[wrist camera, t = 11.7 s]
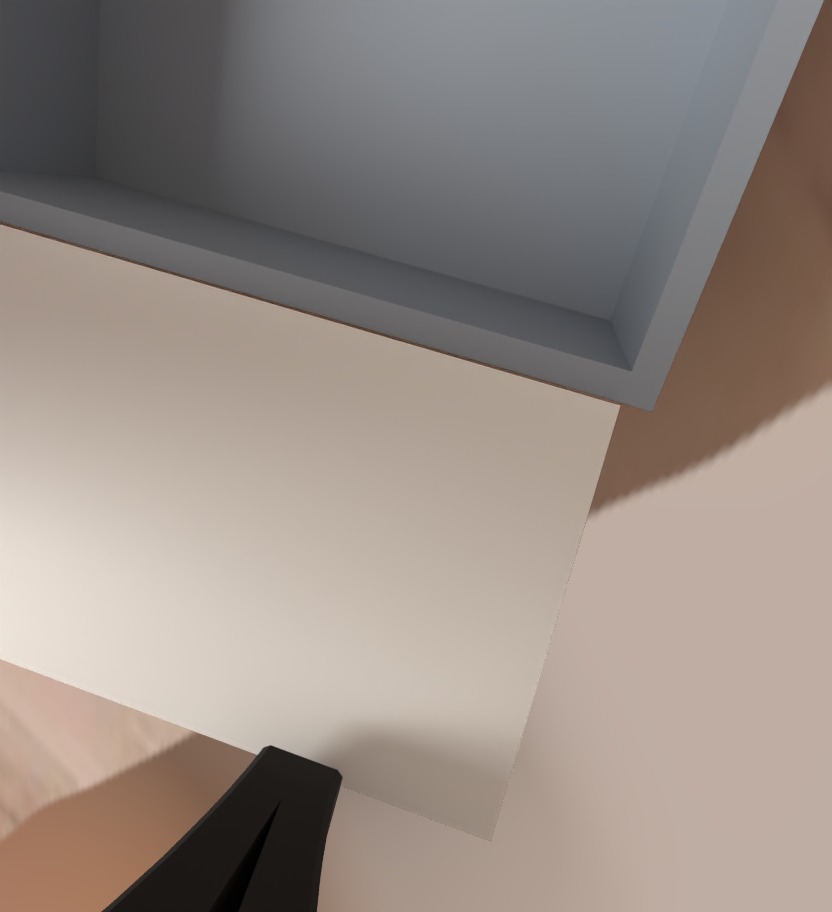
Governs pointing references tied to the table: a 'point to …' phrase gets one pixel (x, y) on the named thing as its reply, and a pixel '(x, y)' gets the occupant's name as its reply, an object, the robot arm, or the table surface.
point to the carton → (410, 159)
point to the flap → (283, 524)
